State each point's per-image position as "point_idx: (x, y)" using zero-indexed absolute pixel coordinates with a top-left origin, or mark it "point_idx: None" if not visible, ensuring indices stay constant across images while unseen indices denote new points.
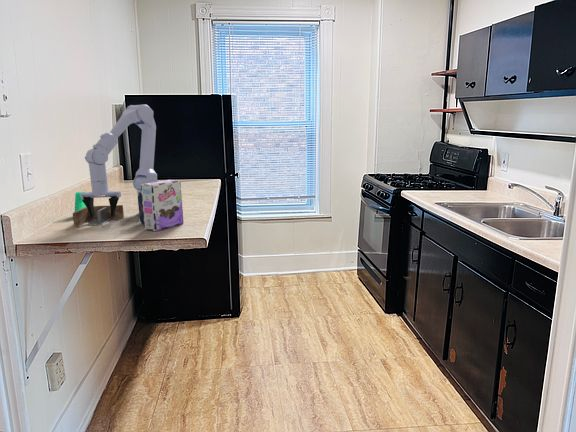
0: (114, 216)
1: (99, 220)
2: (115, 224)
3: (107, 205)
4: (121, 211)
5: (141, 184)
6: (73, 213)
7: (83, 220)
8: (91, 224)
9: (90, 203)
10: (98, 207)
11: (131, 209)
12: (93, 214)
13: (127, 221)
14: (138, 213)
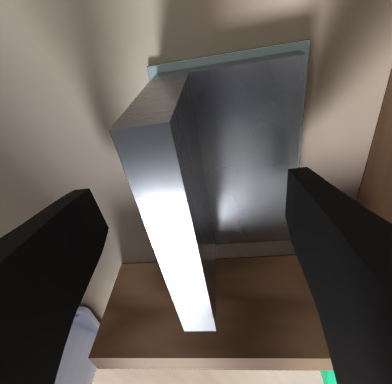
0: None
1: (168, 81)
2: (20, 80)
3: (221, 368)
4: (112, 306)
5: None
6: None
7: (387, 151)
8: (264, 52)
9: (377, 334)
10: (293, 345)
11: (198, 379)
12: (291, 207)
13: (16, 187)
14: (87, 323)
